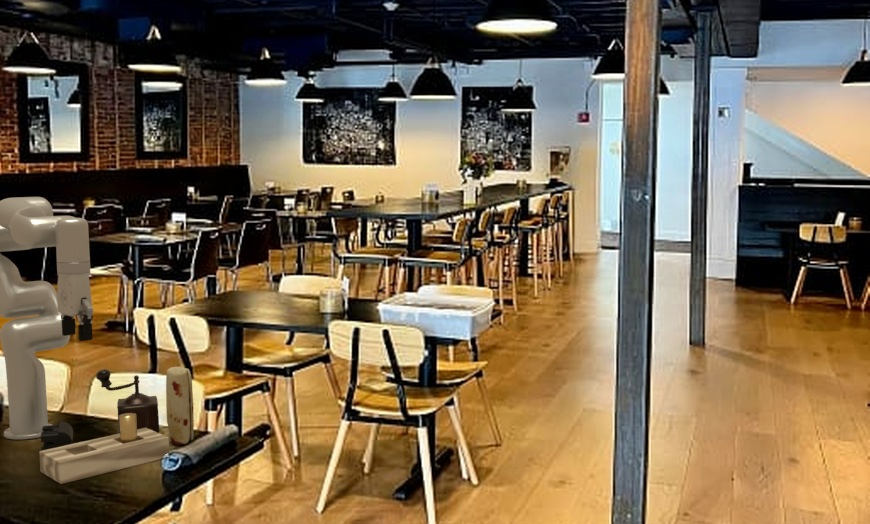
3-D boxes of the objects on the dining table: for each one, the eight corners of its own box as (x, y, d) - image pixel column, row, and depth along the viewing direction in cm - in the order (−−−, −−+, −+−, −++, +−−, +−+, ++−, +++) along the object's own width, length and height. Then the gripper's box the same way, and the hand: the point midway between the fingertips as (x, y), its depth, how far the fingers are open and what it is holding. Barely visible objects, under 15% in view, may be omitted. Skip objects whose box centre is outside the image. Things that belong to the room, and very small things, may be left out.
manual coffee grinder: (158, 427, 254) (155, 363, 252) (160, 439, 244) (157, 372, 242) (98, 433, 249) (95, 368, 247) (98, 445, 239) (94, 377, 237)
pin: (118, 458, 228) (116, 415, 226) (133, 454, 230) (131, 412, 229) (125, 462, 225) (123, 418, 224) (141, 458, 227) (139, 415, 226)
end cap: (72, 456, 230) (71, 430, 229) (41, 460, 227) (40, 433, 227) (73, 445, 239) (72, 419, 238) (44, 448, 237) (42, 422, 236)
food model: (164, 439, 243) (161, 365, 241) (189, 435, 246) (186, 362, 244) (171, 449, 234) (168, 372, 232) (197, 445, 237) (194, 369, 235)
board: (40, 471, 218) (39, 451, 218) (146, 446, 237) (146, 427, 236) (60, 484, 210) (59, 462, 209) (169, 456, 228) (168, 437, 228)
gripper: (44, 267, 228) (48, 335, 230) (73, 273, 215) (76, 344, 217) (74, 264, 233) (77, 331, 235) (104, 270, 221) (107, 340, 223)
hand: (77, 337), depth 226 cm, fingers open, 9 cm apart
